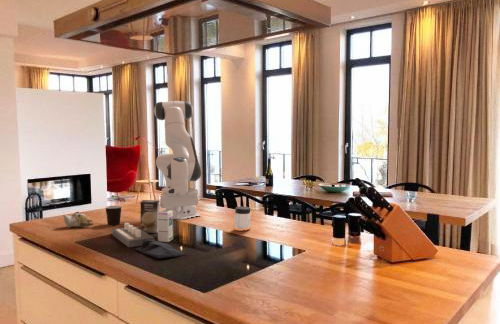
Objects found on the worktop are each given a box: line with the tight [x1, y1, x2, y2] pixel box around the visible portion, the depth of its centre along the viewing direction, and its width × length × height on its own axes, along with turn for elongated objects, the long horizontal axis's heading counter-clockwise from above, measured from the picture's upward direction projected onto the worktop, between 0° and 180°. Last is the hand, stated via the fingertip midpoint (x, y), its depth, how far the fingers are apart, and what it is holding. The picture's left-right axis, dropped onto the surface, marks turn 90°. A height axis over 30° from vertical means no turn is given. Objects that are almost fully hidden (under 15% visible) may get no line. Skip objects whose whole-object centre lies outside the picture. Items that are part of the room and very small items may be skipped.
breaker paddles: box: [123, 222, 141, 238], centre depth 202 cm, size 2×20×3 cm, turn 34°
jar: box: [233, 206, 252, 229], centre depth 225 cm, size 9×8×12 cm
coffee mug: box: [105, 205, 123, 227], centre depth 234 cm, size 12×9×10 cm
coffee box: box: [139, 199, 160, 234], centre depth 218 cm, size 9×6×16 cm
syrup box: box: [157, 209, 174, 243], centre depth 201 cm, size 6×6×14 cm
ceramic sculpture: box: [63, 211, 94, 229], centre depth 226 cm, size 11×9×15 cm
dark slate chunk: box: [135, 239, 185, 259], centre depth 181 cm, size 15×22×5 cm
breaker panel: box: [111, 225, 155, 248], centre depth 202 cm, size 12×26×3 cm, turn 34°
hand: (179, 215), depth 215 cm, fingers closed
